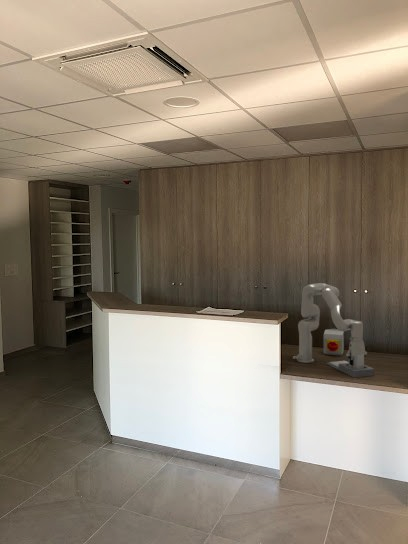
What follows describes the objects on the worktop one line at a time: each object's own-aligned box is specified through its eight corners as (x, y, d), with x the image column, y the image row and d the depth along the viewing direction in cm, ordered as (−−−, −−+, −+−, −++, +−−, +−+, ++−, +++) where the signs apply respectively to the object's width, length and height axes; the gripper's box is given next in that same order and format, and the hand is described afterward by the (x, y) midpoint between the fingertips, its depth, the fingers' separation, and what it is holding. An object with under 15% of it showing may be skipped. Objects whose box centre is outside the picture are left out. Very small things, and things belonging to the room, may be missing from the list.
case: (353, 377, 301) (353, 371, 301) (326, 364, 333) (326, 358, 333) (374, 375, 305) (374, 368, 305) (345, 362, 338) (345, 356, 338)
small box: (364, 373, 310) (364, 354, 309) (357, 375, 307) (357, 356, 306) (354, 370, 317) (355, 352, 316) (348, 372, 314) (348, 353, 313)
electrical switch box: (322, 358, 358) (322, 334, 354) (325, 351, 371) (325, 328, 367) (341, 360, 352) (341, 335, 348) (343, 352, 366) (343, 329, 362)
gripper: (348, 341, 304) (348, 367, 305) (371, 339, 309) (370, 364, 310) (342, 338, 311) (342, 364, 312) (364, 337, 316) (363, 362, 317)
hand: (356, 364), depth 311 cm, fingers closed on small box, 7 cm apart
